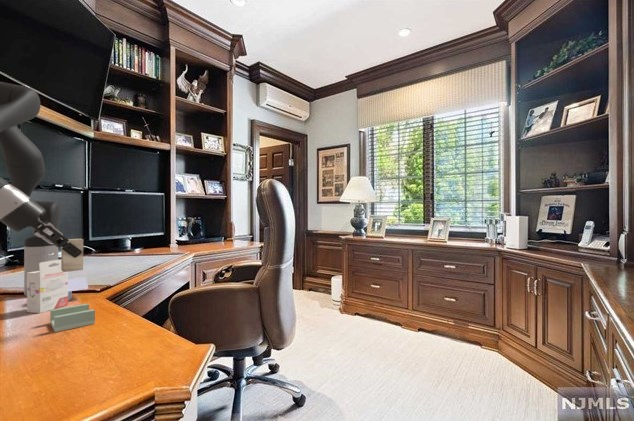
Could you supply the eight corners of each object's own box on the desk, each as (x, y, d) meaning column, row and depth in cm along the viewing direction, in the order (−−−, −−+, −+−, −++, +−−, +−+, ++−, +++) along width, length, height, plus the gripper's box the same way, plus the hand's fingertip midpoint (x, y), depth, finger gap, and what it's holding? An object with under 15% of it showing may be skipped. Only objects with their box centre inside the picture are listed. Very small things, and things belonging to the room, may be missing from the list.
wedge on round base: (83, 293, 111) (35, 301, 102) (84, 275, 112) (35, 280, 102) (88, 298, 105) (36, 306, 96) (88, 278, 105) (37, 285, 96)
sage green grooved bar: (50, 323, 81) (50, 309, 81) (87, 315, 87) (87, 303, 87) (54, 332, 75) (54, 317, 75) (94, 323, 81) (94, 310, 81)
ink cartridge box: (55, 304, 99) (56, 257, 99) (68, 305, 98) (68, 258, 98) (25, 312, 90) (25, 262, 90) (39, 313, 89) (39, 262, 89)
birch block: (61, 270, 81) (61, 239, 81) (80, 268, 84) (80, 238, 84) (63, 272, 78) (63, 240, 78) (83, 269, 81) (83, 239, 81)
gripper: (31, 195, 70) (95, 245, 79) (27, 198, 80) (84, 242, 89) (-3, 219, 66) (68, 268, 75) (-3, 218, 76) (60, 262, 85)
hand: (76, 254), depth 82 cm, fingers closed on birch block, 4 cm apart
